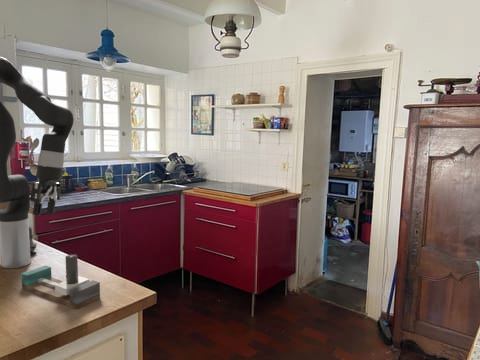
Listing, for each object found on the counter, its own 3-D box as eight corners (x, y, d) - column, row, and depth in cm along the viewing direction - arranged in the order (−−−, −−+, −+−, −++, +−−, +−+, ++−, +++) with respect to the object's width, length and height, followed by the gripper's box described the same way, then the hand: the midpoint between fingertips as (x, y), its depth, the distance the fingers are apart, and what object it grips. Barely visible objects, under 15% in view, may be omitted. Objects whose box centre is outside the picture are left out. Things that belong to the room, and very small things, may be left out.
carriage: (55, 291, 106) (53, 258, 105) (78, 281, 113) (77, 251, 112) (66, 295, 104) (64, 262, 103) (89, 285, 111) (88, 254, 110)
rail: (22, 288, 115) (21, 273, 114) (46, 279, 122) (45, 265, 121) (77, 309, 102) (76, 292, 102) (100, 298, 109) (99, 282, 109)
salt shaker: (29, 257, 142) (27, 227, 141) (16, 255, 143) (14, 226, 142) (40, 252, 148) (39, 223, 146) (28, 250, 149) (26, 222, 147)
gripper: (50, 164, 127) (43, 210, 127) (26, 162, 113) (19, 214, 113) (71, 167, 127) (65, 213, 127) (50, 165, 113) (43, 217, 113)
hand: (43, 213), depth 120 cm, fingers open, 8 cm apart
